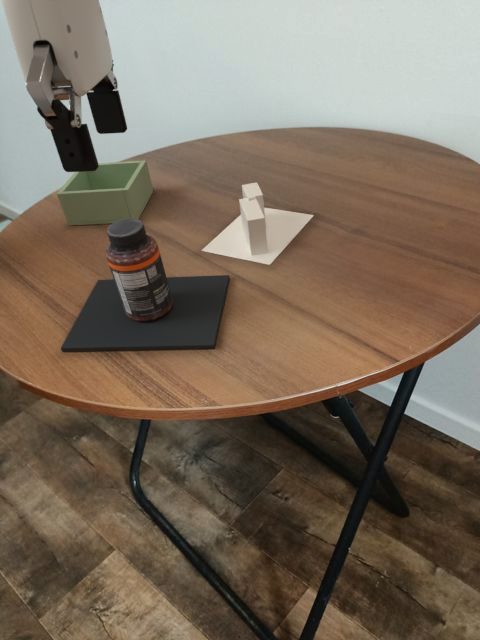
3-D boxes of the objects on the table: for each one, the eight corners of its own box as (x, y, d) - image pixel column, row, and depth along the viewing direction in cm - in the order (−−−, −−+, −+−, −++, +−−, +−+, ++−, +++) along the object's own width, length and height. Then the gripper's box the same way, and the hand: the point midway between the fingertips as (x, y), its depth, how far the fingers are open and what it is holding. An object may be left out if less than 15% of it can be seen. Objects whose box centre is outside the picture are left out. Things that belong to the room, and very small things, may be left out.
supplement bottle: (136, 293, 67) (111, 212, 59) (180, 295, 66) (160, 213, 58) (117, 322, 63) (88, 239, 55) (164, 325, 61) (140, 240, 54)
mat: (62, 352, 60) (60, 348, 60) (99, 283, 71) (97, 279, 70) (214, 348, 58) (213, 344, 58) (229, 278, 69) (229, 274, 68)
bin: (68, 225, 85) (56, 193, 81) (91, 194, 93) (81, 164, 90) (137, 222, 83) (128, 189, 80) (153, 190, 92) (146, 160, 88)
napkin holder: (271, 265, 70) (267, 226, 66) (200, 251, 75) (193, 214, 71) (314, 214, 80) (313, 178, 76) (249, 205, 84) (245, 170, 80)
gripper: (34, -75, 47) (90, 122, 58) (-71, -58, 34) (26, 189, 45) (114, -82, 46) (155, 118, 58) (37, -68, 33) (109, 186, 45)
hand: (98, 150), depth 51 cm, fingers open, 9 cm apart
